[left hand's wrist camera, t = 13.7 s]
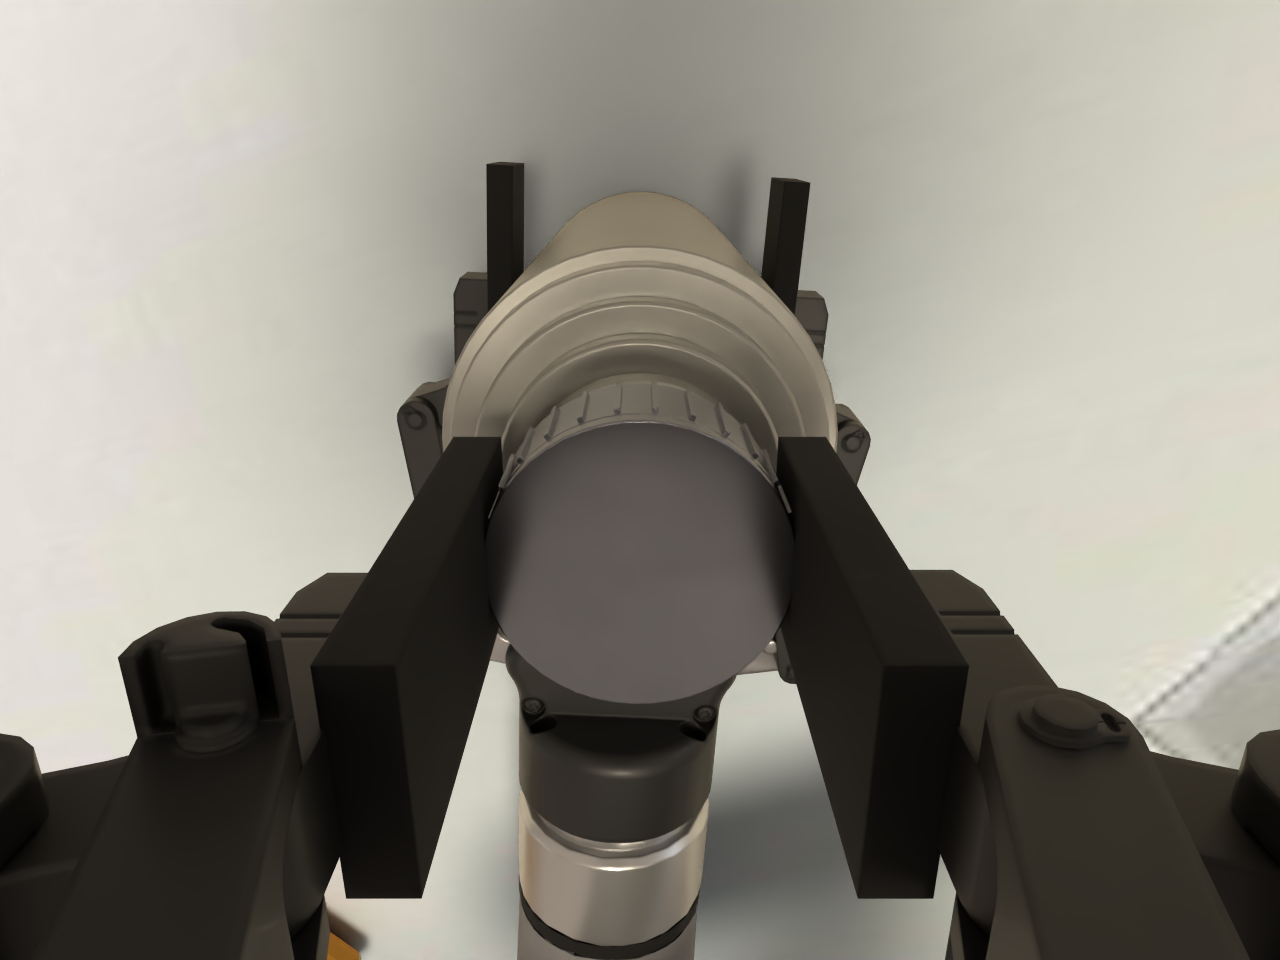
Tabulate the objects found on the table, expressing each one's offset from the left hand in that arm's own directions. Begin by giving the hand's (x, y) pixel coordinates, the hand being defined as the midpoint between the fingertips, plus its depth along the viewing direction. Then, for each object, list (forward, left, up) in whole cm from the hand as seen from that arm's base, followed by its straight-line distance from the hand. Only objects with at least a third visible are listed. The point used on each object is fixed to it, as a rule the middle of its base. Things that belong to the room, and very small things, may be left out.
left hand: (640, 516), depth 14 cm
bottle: (0, 0, -21) cm, 21 cm away
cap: (0, 0, +2) cm, 2 cm away
